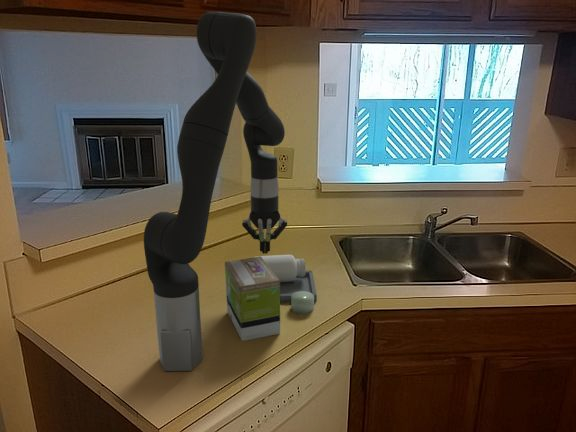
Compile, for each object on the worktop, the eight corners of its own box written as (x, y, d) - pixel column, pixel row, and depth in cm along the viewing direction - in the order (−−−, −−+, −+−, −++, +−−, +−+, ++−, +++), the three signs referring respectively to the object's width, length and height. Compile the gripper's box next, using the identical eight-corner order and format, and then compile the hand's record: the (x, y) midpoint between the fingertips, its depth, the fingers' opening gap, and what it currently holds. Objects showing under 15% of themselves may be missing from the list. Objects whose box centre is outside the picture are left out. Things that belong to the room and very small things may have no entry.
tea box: (225, 312, 127) (223, 260, 123) (262, 306, 131) (261, 254, 126) (241, 342, 114) (239, 285, 109) (281, 334, 117) (281, 278, 113)
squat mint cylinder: (314, 313, 127) (315, 301, 126) (291, 314, 127) (291, 301, 126) (313, 302, 133) (313, 291, 132) (290, 302, 133) (291, 291, 131)
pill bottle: (252, 270, 147) (301, 268, 149) (254, 289, 141) (305, 286, 143) (252, 250, 142) (303, 248, 144) (254, 269, 136) (307, 267, 138)
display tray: (316, 301, 133) (316, 295, 133) (255, 301, 133) (255, 295, 132) (312, 276, 148) (312, 270, 148) (257, 276, 148) (257, 271, 147)
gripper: (238, 197, 128) (240, 258, 133) (289, 196, 128) (289, 257, 134) (240, 189, 135) (242, 247, 140) (288, 189, 135) (288, 247, 141)
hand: (265, 252), depth 137 cm, fingers closed
